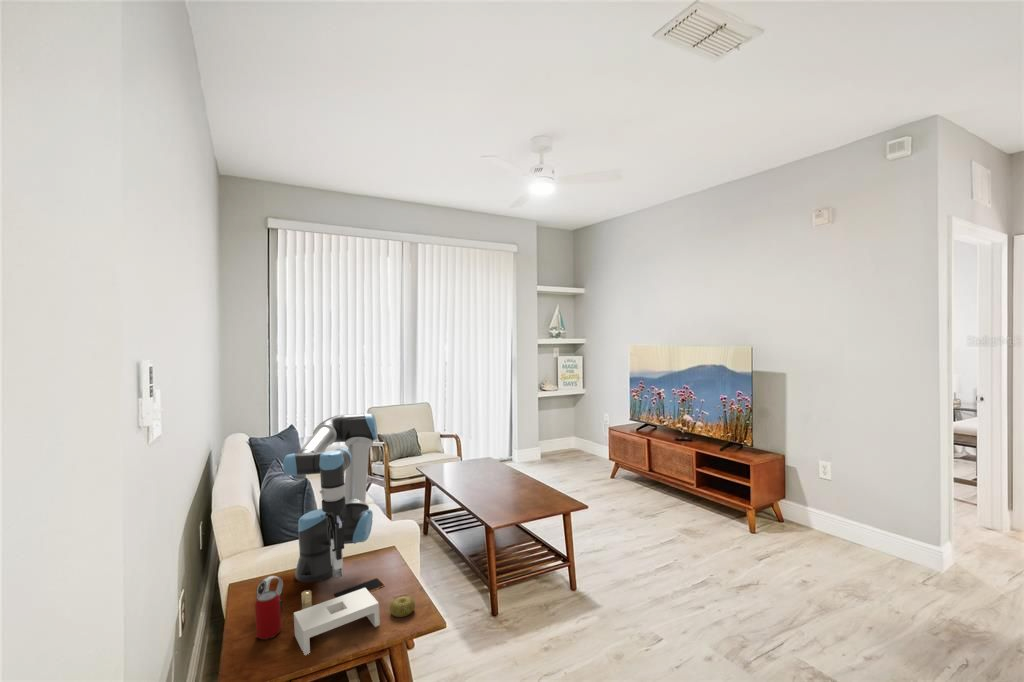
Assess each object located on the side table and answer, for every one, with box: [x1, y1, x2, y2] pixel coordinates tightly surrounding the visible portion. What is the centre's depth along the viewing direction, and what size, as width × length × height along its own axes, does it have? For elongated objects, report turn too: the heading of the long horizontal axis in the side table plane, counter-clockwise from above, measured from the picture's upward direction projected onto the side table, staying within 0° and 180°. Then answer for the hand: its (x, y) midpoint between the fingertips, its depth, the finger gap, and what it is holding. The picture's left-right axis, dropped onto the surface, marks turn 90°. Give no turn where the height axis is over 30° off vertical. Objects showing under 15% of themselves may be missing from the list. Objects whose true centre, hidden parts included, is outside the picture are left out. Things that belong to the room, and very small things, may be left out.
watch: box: [255, 575, 284, 612], centre depth 160 cm, size 6×8×11 cm
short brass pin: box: [300, 589, 313, 610], centre depth 157 cm, size 3×3×7 cm
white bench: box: [293, 588, 381, 656], centre depth 147 cm, size 12×22×7 cm, turn 126°
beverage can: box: [254, 590, 282, 640], centre depth 147 cm, size 7×7×12 cm
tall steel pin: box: [331, 538, 343, 579], centre depth 163 cm, size 3×3×13 cm
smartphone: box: [331, 577, 385, 599], centre depth 170 cm, size 8×17×1 cm, turn 128°
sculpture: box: [389, 595, 416, 618], centre depth 156 cm, size 8×4×8 cm
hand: (337, 566), depth 163 cm, fingers closed on tall steel pin, 3 cm apart
